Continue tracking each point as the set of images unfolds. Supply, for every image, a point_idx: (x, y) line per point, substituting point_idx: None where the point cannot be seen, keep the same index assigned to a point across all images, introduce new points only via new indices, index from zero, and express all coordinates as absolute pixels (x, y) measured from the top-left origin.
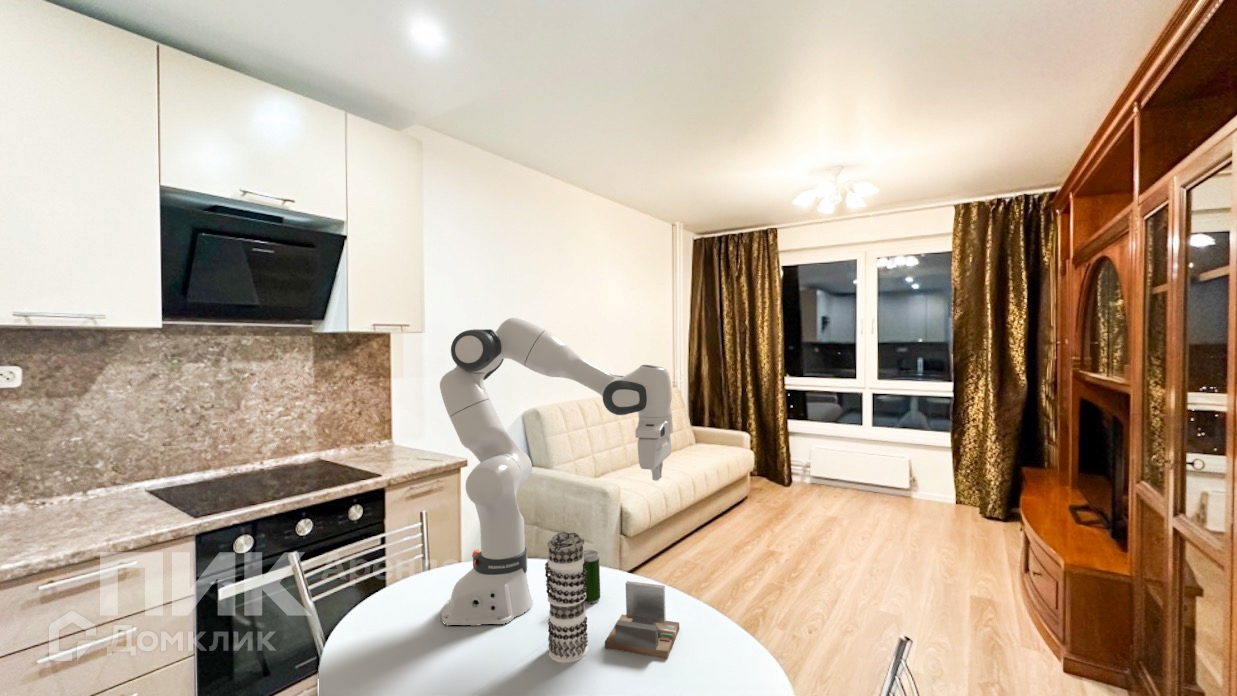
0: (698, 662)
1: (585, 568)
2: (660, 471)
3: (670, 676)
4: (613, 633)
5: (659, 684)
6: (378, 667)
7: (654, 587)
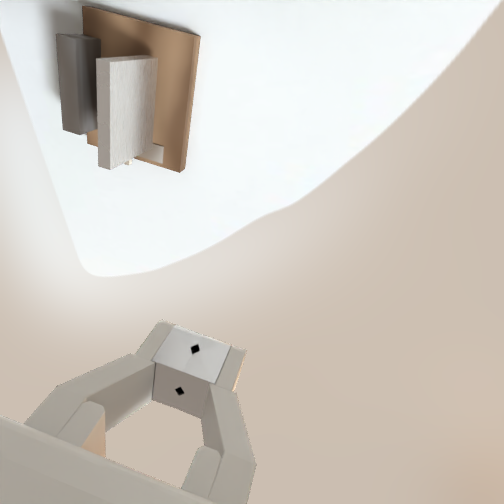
0: (100, 188)
1: None
2: (201, 420)
3: (56, 142)
4: (114, 23)
5: (34, 124)
6: None
7: (98, 143)
